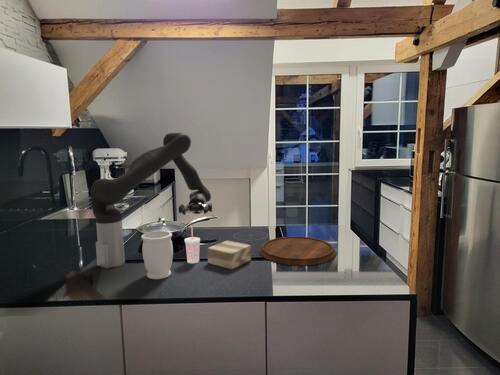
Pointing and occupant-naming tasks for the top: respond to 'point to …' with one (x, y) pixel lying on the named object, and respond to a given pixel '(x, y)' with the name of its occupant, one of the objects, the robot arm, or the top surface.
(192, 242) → the beverage cup
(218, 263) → the wooden riser
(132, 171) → the robot arm
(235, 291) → the top surface
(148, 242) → the jar
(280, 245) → the cutting board
